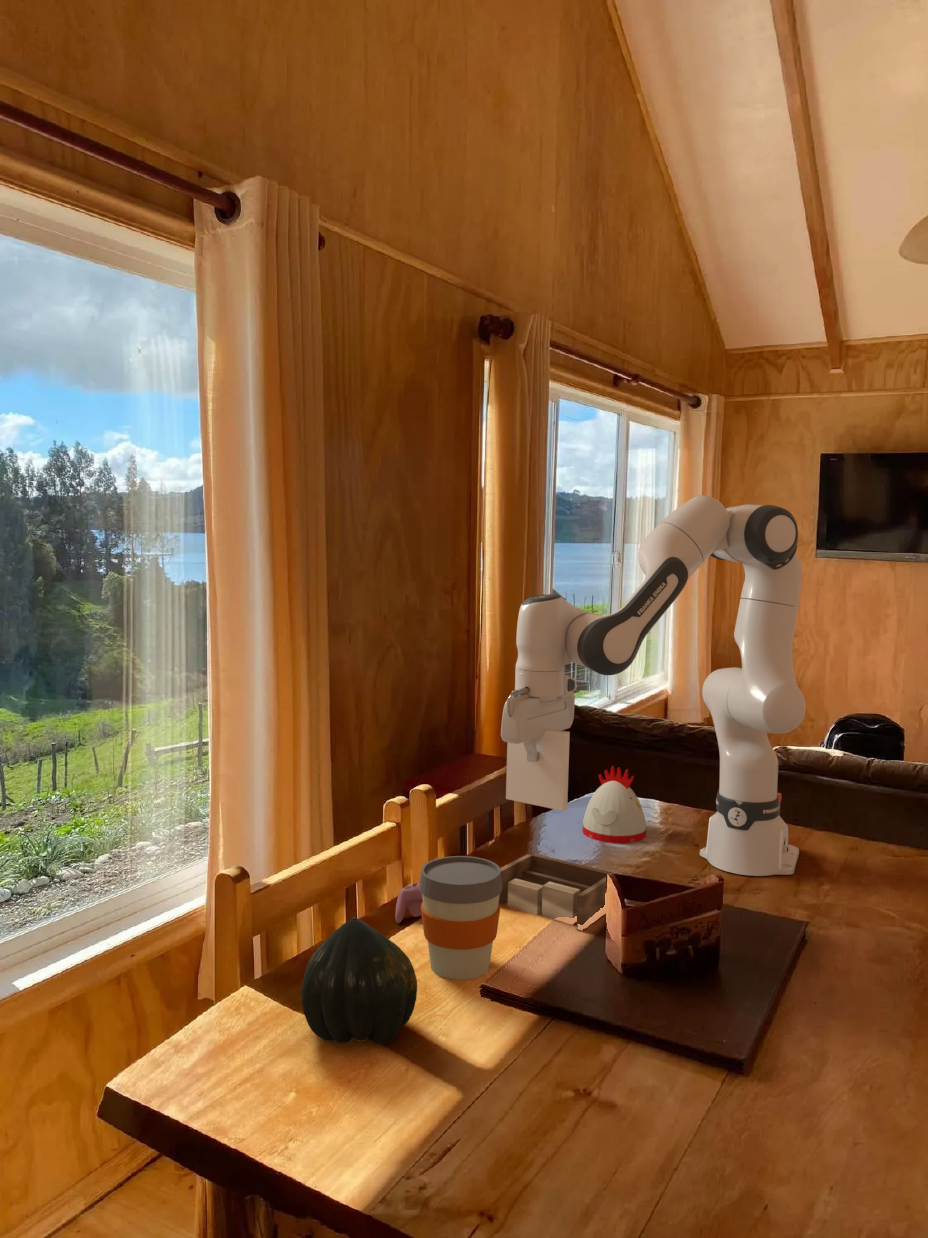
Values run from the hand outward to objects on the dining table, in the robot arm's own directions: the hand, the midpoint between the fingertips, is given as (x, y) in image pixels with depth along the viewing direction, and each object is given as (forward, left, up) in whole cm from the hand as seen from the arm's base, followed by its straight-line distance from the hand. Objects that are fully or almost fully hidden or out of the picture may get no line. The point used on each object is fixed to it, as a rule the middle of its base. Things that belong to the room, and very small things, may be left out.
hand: (537, 759), depth 167 cm
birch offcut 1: (+7, +3, -25) cm, 26 cm away
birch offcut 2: (+7, +10, -25) cm, 28 cm away
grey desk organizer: (+3, +6, -25) cm, 26 cm away
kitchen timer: (-40, -4, -25) cm, 47 cm away
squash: (+55, +6, -25) cm, 61 cm away
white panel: (0, 0, -8) cm, 8 cm away
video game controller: (+21, -9, -25) cm, 34 cm away
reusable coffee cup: (+32, +6, -25) cm, 41 cm away
